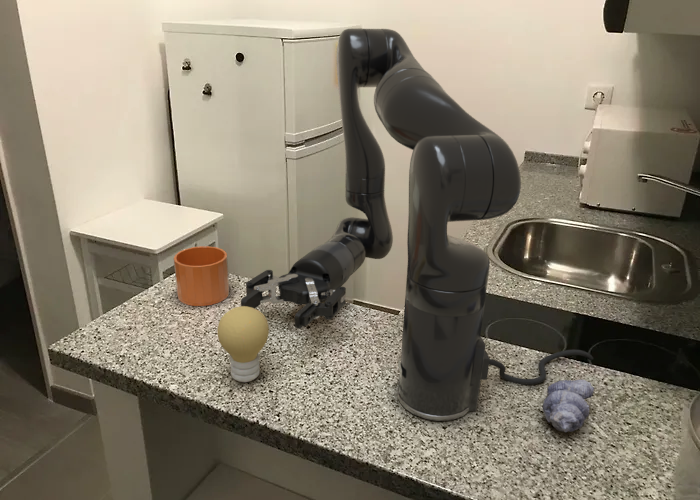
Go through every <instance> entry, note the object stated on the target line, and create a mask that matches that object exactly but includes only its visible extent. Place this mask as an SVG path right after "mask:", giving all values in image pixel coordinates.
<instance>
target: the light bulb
mask: <svg viewBox="0 0 700 500" xmlns="http://www.w3.org/2000/svg"><path fill="white" fill-rule="evenodd" d="M269 332H270V328H269V322H268V320H267V318H266V316H265V315H264V314H263V312H261V311H260V310H259V309H257V308H255V309H254V308H252V307H247V306H241V305H240V306H236V307H233V308H231V309H229V310H228V311H227V312H226V313H224V314H223V316H221V318H220V320H219V322H218V325H217V331H216V333H217V339H218V342H219V344H220V346H221V347H222V349H223V350H225V352H226V353H227V354H228V355H229V363H230V367H229V368H230V376H231V378H232V379H233V380H235V381H237V382H239V383H249V382H252V381H254V380H256V379H257V377H259V376H260V372H261V371H260V370H261V369H260V368H261V367H260V354H259V353H260V352H261V351H262V349H263V348H264V346H265V345H266V343H267V341H268V339H269V334H270V333H269Z"/></svg>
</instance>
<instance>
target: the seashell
mask: <svg viewBox="0 0 700 500" xmlns="http://www.w3.org/2000/svg"><path fill="white" fill-rule="evenodd" d="M594 392H595V387H594V386H593V385H592V382H590V381H587V380H586V379H575V380H574V379H573V380H571V379H568V380H567V379H564V380H563V379H561V380H558V381H555V382H553V383H551V384H549V386H548V387H547V391H546V393H547V396H546V397H545V398H544V400H543V402H542V412H543V414H544V416H545V419H546V421H547V422H548V423H551V425H552V426H553V428H554V429H555V430H556V431H558V432H564V433H567V432H571V433H572V432H575V431H577V430H581V428H582V427H583V426H584V423H585V421H586V420H587V418H588V417H589V415H590V405H589V404H588V402H587V401H586V400H587V399H591V398H592V397H593V395H594Z"/></svg>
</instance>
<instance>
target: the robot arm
mask: <svg viewBox="0 0 700 500" xmlns="http://www.w3.org/2000/svg"><path fill="white" fill-rule="evenodd" d="M335 55H336V57H335V58H336V59H335V61H336V77H337V87H338V96H339V106H340V107H339V109H340V118H341V119H340V120H341V126H342V133H343V143H344V144H343V145H344V156H345V160H344V162H345V171H344V173H345V176H344V177H345V179H344V180H345V181H344V182H345V185H344V186H345V187H344V189H345V190H344V193H345V194H344V195H345V196H344V197H345V202H346V204H347V205H348V206H349V207H351V208H353V209H356V210H358V211H360V212H362V213H363V214H364V215H365V216H366V218H364V217H357V216H348V217H344V218H343V219H341V220H340V221H339V222H338V224H337V226H336V228H335V230H334V231H333V234H332V236H331V238H329V239H328V240H327V241H326V242H324V243H322V244H320V245H317V246H316V247H315V248H313V249H312V250H311V251H309V252H308V253H307V254H305V255H304V256H302V257H301V258H300V259H298V260H297V261H295V263H293V264H292V266H291V268H290V270H289V271H288V273H285V274H281V275H280V276H277V275H274V272H273V270H272V269H265V270H264V271H262V272H260V273H259V274H258V275H256V276H255V277H253V278H251V279H249V280H248V281H246V282H245V290H246V291H245V293H246V294H245V296H244V297H242V298H241V299H240V306H247V307H252V308H254V309H257V308H258V307H259V306H261V304H265V303H271V304H273V305H274V304H278V303H284V302H287V303H294V304H295V305H299V306H302V307H301V308H300V309H299V310H298V311H297V312H296V313H295V314H294V328H296V329H299V330H301V329H302V328H303V327H306V326H308V325H309V324H310V323H312V322H313V321H314V320H317V319H320V317H324V319H325V320H332V319H334V318H335V316H336V315H337V314H338V313H339V312H340V311H341V309H342V308H343V307H344V306H345V304H346V298H347V296H346V295H347V292H346V291H347V288H346V287H345V286H344V285H345V284H346V283H347V281H348V280H349V279H350V277H352V275H353V274H354V273H355V272H357V271H358V269H360V267H361V266H363V264H364V262H365V260H366V258H367V259H371V260H372V259H373V260H381V259H384V258H385V257H387V255H389V253H390V252H391V249H392V247H393V243H394V235H393V229H392V224H391V221H390V216H389V213H388V208H387V204H386V197H385V190H386V188H385V185H386V161H385V156H384V152H383V150H382V148H381V146H380V144H379V142H378V140H377V138H376V137H375V135H374V133H373V132H372V130H371V128H370V126H369V124H368V123H367V121H366V119H365V117H364V114H363V112H362V108H361V106H360V99H359V88H375V89H374V94H373V106H374V110H375V113H376V115H377V118H378V119H379V120H380V122H381V124H382V125H383V127H384V128H385V130H386V132H387V133H388V135H390V137H391V138H393V139H394V140H395V141H396V142H397V143H399V144H400V145H402V146H403V147H406V148H407V149H409V150H411V152H412V153H411V157H410V162H409V170H408V215H407V216H408V217H407V218H408V219H407V220H408V221H407V239H406V241H407V242H406V243H407V265H406V266H407V268H406V280H405V282H406V283H405V295H404V296H405V297H404V310H403V322H402V336H401V337H402V338H401V350H400V358H398V359H397V362H398V363H397V367H398V372H399V374H398V375H399V376H398V385H397V392H396V393H397V395H396V396H397V399H398V401H399V403H400V405H401V406H402V407H403V408H404V409H405V410H406V411H407V412H408V413H410V414H412V415H414V416H416V417H419V418H421V419H425V420H429V421H435V422H436V421H437V422H445V421H453V420H456V419H460V418H462V417H464V416H465V415H466V414H468V413H469V412H476V411H477V409H478V405H479V395H480V388H481V381H487V379H488V376H489V367H490V366H493V367H495V368H498V369H499V370H498V375H499V377H501V379H502V380H505V381H507V382H510V383H515V384H519V385H525V386H531V385H538V384H541V383H543V382H544V381H545V380H546V379H547V370H546V367H545V365H546V364H548V363H549V362H551V361H554V360H556V359H558V358H562V357H567V356H581V357H584V358H586V359H587V360H590V361H592V360H594V356H592V354H590V352H587V351H585V350H581V349H565V350H561V351H557V352H554V353H551V354H549V355H547V356H545V357H543V358H541V360H539V363H538V369H539V373H540V375H539V376H538V377H535V378H519V377H516V376H512V375H510V374H508V373H506V366H505V365H504V364H503V363H502V362H501V361H498V360H496V359H492V358H491V357H490V356H489V355H488V353H487V351H486V343H485V341H484V339H483V338H482V336H481V335H482V334H481V333H482V327H483V319H484V312H485V304H486V297H487V289H488V280H489V275H490V266H491V264H490V263H491V262H490V257H489V256H488V253H486V251H485V250H484V249H482V248H481V247H479V245H476V244H474V243H472V242H470V241H468V240H464V239H461V238H457V237H455V236H452V235H449V234H448V223H450V222H451V223H453V222H455V223H456V222H472V221H473V222H474V221H486V220H492V219H496V218H499V217H503V216H504V215H506V214H508V213H509V212H510V211H511V210H512V209H513V208H514V206H516V203H517V202H518V200H519V197H520V194H521V189H522V188H521V187H522V177H521V171H520V167H519V163H518V160H517V158H516V156H515V154H514V152H513V150H512V148H511V147H510V146H509V144H508V143H507V141H506V140H504V138H503V137H502V136H501V135H499V134H498V133H496V132H495V131H493V130H492V129H490V128H489V127H488V126H486V125H485V124H483V122H481V121H480V120H477V119H476V118H474V117H473V116H472V115H471V114H469V112H467V111H466V110H465V109H464V108H463V107H462V106H461V105H460V104H459V103H458V102H456V100H455V99H454V98H453V97H451V96H450V95H449V93H447V92H446V90H445V89H444V87H443V86H442V85H441V84H440V83H439V82H438V81H437V80H436V79H435V78H434V77H433V76H432V74H430V73H429V71H427V70H426V69H425V68H424V67H423V66H422V65H421V64H420V62H419V61H418V60H417V58H416V57H415V56H414V54H413V53H412V50H410V48H409V45H408V44H407V42H406V40H405V39H404V37H403V36H402V35H401V34H400V33H399V32H397V31H396V30H393V29H390V28H360V27H359V28H346V29H343V31H341V33H340V35H339V36H338V40H337V45H336V54H335ZM277 287H278V291H279V295H277ZM266 291H267V292H268V293H267V295H263V293H265V292H266Z"/></svg>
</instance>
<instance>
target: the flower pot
mask: <svg viewBox="0 0 700 500" xmlns="http://www.w3.org/2000/svg"><path fill="white" fill-rule="evenodd" d="M228 261H229V260H228V253H227V252H226V251H225V250H224V249H222V248H220V247H216V246H210V245H209V246H207V245H202V246H199V245H198V246H192V247H189V248H185V249H182V250H180V251H177V253H176V254H174V257H173V265H174V267H173V268H174V275H175V285H176V295H177V299H178V301H179V302H180V303H182V304H184V305H187V306H192V307H205V306H211V305H215V304H219V303H221V302H223V301H225V300H226V299H227V298H228V297H229V295H230V278H229V277H230V276H229V264H228Z"/></svg>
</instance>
